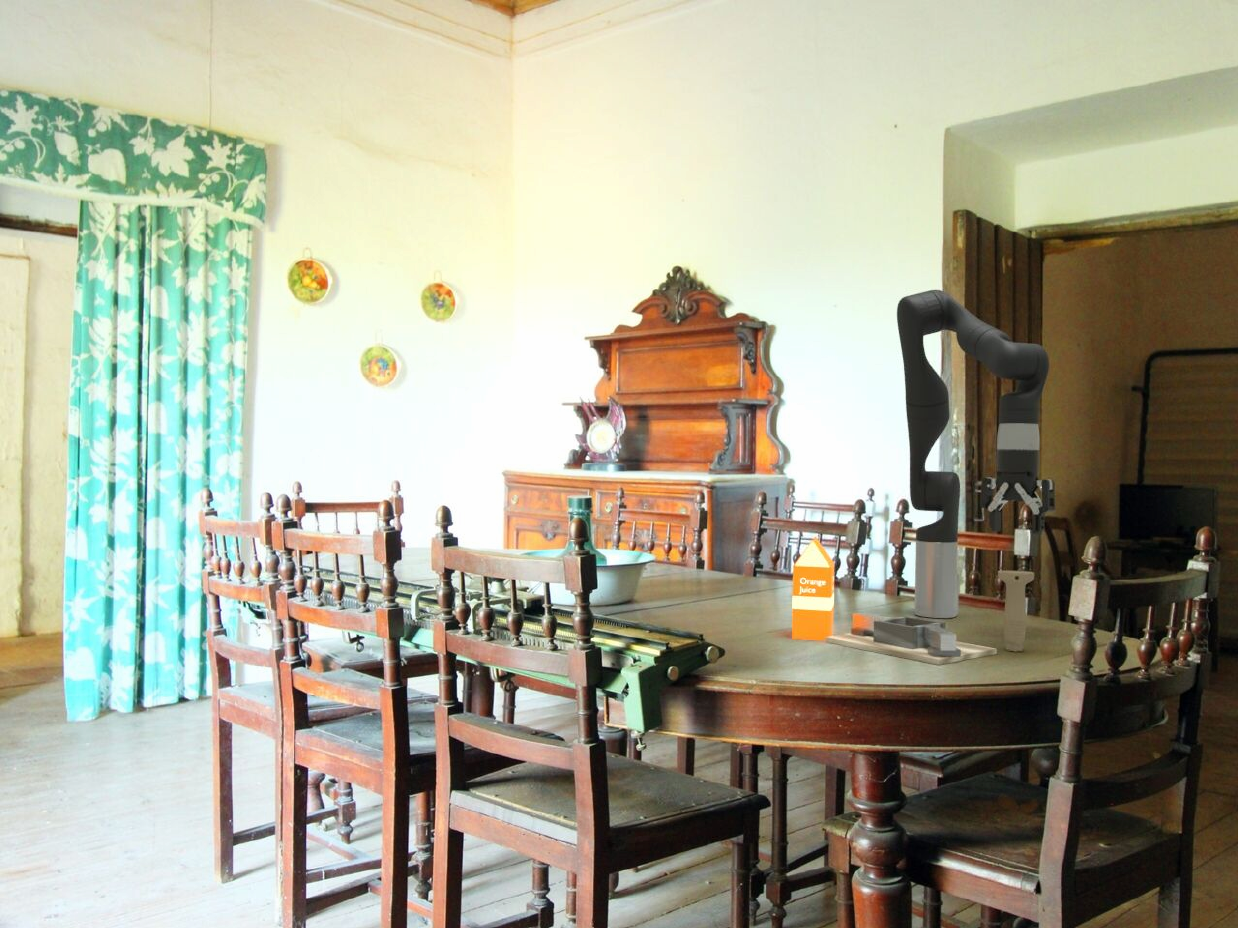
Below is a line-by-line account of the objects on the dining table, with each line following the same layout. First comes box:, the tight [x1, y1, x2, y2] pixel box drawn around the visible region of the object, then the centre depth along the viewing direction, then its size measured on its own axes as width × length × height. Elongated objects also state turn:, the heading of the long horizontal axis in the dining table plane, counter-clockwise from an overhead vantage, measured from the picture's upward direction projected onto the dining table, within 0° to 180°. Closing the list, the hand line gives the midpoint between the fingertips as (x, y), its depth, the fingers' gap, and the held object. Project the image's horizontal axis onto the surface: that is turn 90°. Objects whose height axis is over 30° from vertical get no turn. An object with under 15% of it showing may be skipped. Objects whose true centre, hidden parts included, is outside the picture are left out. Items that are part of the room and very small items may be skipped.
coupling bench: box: [825, 615, 998, 666], centre depth 198 cm, size 18×26×5 cm
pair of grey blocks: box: [850, 612, 961, 657], centre depth 196 cm, size 10×26×4 cm, turn 38°
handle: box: [997, 570, 1035, 653], centre depth 197 cm, size 5×6×15 cm
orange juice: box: [791, 536, 835, 642], centre depth 209 cm, size 8×9×20 cm
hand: (1016, 532), depth 197 cm, fingers open, 8 cm apart
